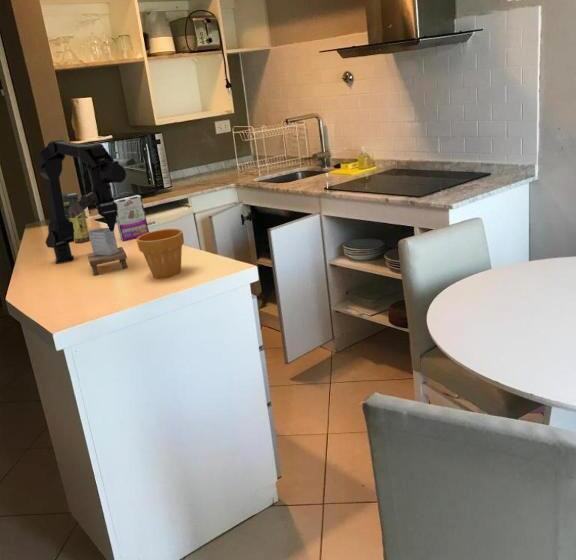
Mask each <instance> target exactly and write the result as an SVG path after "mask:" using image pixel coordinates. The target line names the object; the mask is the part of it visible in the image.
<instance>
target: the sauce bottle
mask: <svg viewBox="0 0 576 560" xmlns="http://www.w3.org/2000/svg"><path fill="white" fill-rule="evenodd" d="M78 197H79V196H78V193H69V195H67V198H68V200H69V205H70V207H69V210H68V214H69V219H70V221H72V222H73V228H74V231H75V232H74V243H76V244H77V243H79V244H80V243H82V244H83V243H85V242H88V241H90V237H89V233H88V232H89V229H88V224H87V221H86V220H87V219H86V214H85V212H84V210H82V208H81V207H80V205H79V204H78V202H77V200H78Z"/></svg>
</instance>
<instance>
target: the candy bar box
mask: <svg viewBox="0 0 576 560" xmlns="http://www.w3.org/2000/svg"><path fill="white" fill-rule="evenodd" d="M114 202H115V203H116V204H117V208H118V212H117V216H116V225H117V229H118V233H119V237H120V240H121V241H122V242H127V241H132V240H134V239H137V238H138V237H139V236H141V235H143V234H146V233H149V232H150V230H149V226H148V221H147V218H146V216H147V215H146V213H145V209H144V203H143V198H142V196H141V195H140V194H135V195H131V196H128V197H123V198H117V199H114Z"/></svg>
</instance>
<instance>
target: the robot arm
mask: <svg viewBox="0 0 576 560" xmlns="http://www.w3.org/2000/svg"><path fill="white" fill-rule="evenodd" d="M66 156H69V157H73V158H74V157H75V158H78V160H79V161H80V162H81V163H85V164H86V165H85V166H84V168H83V170H84V171H86V172H87V171H88V175H89V179H90V184H91V192H89V193H87V194H83V196H80V197H79V199H78V200H77V202H78V204H79V205H80V207H81V208H82V210H83V211H84V210H86V209H87V208H88V207H90V206H92V205H93V204H94V206H95V209H96V211H97V213H98V215H99V216H101V217H103V219H104V221H105V222H106V225H107V228H109V229H110V231H111V232H112V231H114V232H115V226H116V223H117V221H116V216H117V212H118V208H117V204H116V203H115V202H114V200H115V199H114V197H113V191H112V186H111V184H117V183H118V184H121V183H123V182H124V181H125V180H126V177H127V172H126V169H125V168H124V166H122V165H120V164H119V161H118V160H114V158H113V156H111V154H110V153H109V152H108V150H107V149H106V148H105V147H104V145H103V144H102V143H100V142H99V143H89V144H81V143H77V142H72V141H66V140H64V139H57V140H56V139H55V140H51V141H49V143H47V146H45V147H44V148H43V149H42V150H41V151H40V152H39V153H38V154H37V156H36V157H35V166H36V168H37V172H38V173H39V174H40V176H41V177H42V178H43V180H44V184H45V185H44V186H45V190H46V195H47V200H48V207H49V213H50V220H49V223H48V228H47V230H48V234H47V237H46V239H45V244H46V247H47V248H48V249H49V248H51V249H52V248H53V251H54V256H55V264H62V263H66V262H72V261H75V258H74V254H73V253H72V250H71V247H70V243H75V239H74V232H75V231H74V228H73V222H72V221H69V220H68V219H67V218H66V215H65V209H64V203H63V197H62V193H63V191H62V186H61V179H60V177H61V174H62V172H63V162H64V159H65V158H66ZM72 254H73V255H72Z"/></svg>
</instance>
